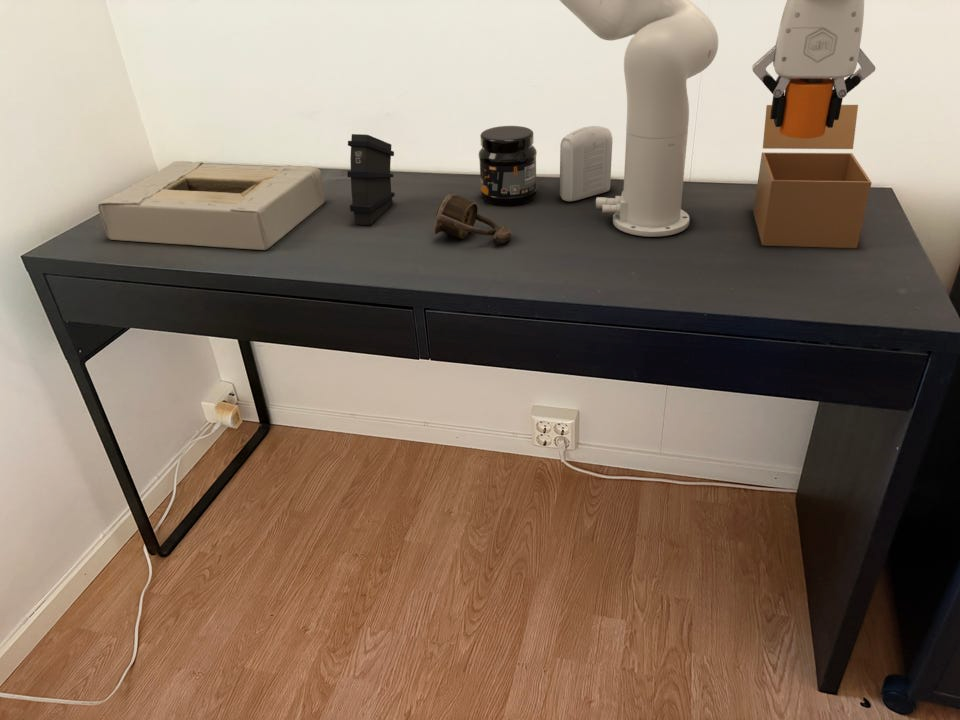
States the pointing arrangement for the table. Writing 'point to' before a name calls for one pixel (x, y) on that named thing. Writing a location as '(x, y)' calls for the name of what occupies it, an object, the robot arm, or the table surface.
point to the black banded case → (370, 178)
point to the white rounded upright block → (585, 163)
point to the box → (214, 205)
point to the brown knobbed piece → (466, 220)
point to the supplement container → (508, 165)
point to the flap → (832, 138)
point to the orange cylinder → (806, 107)
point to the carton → (810, 199)
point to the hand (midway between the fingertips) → (802, 123)
